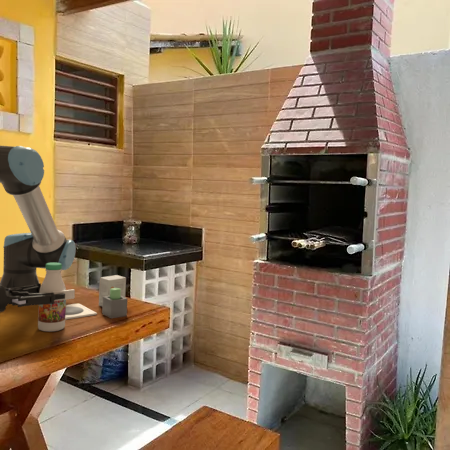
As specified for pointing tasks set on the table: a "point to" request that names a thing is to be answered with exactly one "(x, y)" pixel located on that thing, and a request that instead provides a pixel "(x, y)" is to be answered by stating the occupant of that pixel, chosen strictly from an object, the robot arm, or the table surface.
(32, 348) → the table surface
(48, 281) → the milk bottle
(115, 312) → the button box
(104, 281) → the small box
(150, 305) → the table surface
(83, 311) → the white square plate
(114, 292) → the button
